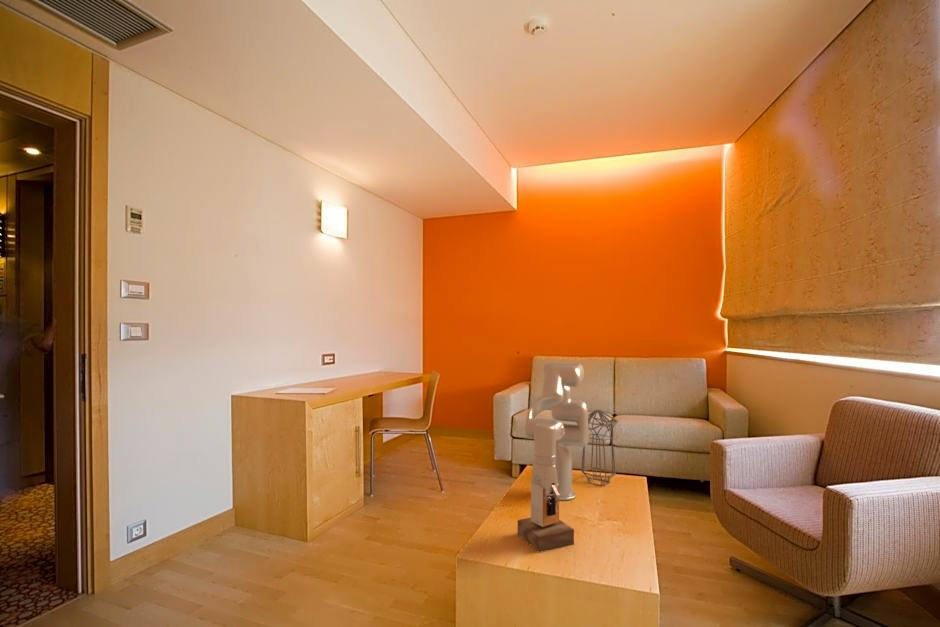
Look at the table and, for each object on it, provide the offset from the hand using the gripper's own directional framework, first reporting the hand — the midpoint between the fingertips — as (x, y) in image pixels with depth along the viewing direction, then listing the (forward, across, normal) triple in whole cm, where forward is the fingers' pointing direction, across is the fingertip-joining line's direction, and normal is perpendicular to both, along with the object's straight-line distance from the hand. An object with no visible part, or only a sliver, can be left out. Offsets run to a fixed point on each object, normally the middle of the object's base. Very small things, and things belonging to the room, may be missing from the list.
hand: (545, 510), depth 151 cm
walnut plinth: (+10, 0, 0) cm, 10 cm away
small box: (+4, 0, 0) cm, 4 cm away
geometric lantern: (+10, -40, +58) cm, 71 cm away
